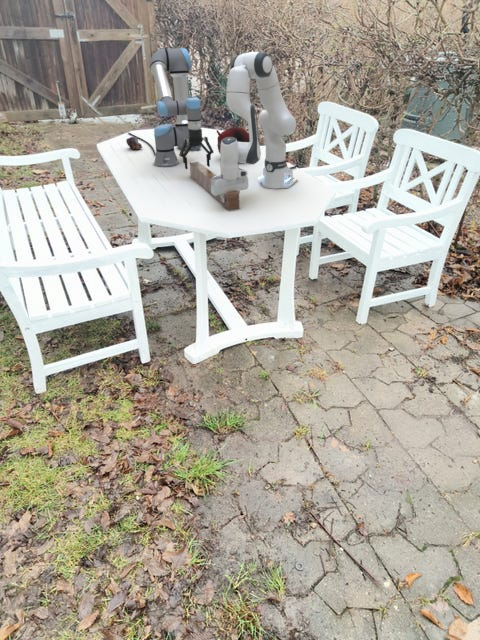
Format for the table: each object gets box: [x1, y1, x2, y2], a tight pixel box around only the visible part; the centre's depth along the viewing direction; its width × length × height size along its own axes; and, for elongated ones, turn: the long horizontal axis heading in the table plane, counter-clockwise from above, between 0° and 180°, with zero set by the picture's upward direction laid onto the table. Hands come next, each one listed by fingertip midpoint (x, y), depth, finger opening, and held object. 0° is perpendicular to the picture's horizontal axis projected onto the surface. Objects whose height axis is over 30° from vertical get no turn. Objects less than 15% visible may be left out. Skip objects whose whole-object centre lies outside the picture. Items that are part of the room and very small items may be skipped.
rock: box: [125, 136, 143, 150], centre depth 324 cm, size 12×9×10 cm
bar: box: [189, 161, 240, 211], centre depth 246 cm, size 62×5×8 cm, turn 23°
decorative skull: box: [216, 126, 250, 154], centre depth 295 cm, size 21×24×25 cm
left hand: (197, 167), depth 264 cm, fingers open, 13 cm apart
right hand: (230, 200), depth 228 cm, fingers closed on bar, 6 cm apart
